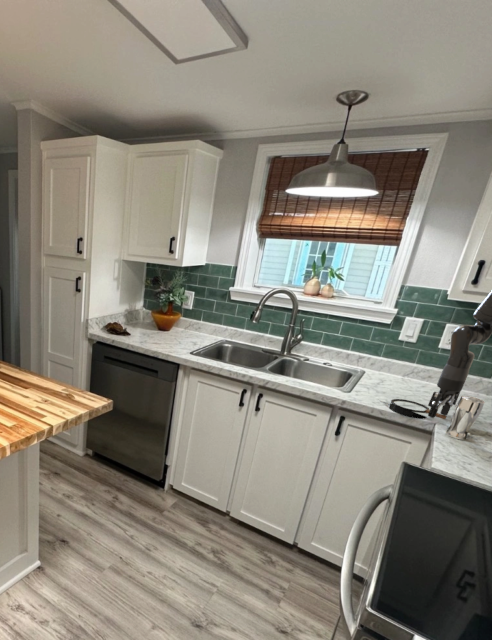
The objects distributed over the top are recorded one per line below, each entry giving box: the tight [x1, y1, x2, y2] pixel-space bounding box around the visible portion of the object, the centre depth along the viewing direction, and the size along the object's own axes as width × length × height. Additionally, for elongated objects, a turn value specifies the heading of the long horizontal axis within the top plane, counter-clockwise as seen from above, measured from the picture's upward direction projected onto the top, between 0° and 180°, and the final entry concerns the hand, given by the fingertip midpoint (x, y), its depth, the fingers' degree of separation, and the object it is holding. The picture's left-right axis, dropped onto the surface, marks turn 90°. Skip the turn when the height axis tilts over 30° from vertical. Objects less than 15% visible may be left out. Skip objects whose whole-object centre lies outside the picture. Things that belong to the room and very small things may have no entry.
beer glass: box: [445, 395, 486, 441], centre depth 149 cm, size 7×7×15 cm
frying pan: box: [388, 398, 448, 420], centre depth 167 cm, size 20×13×4 cm, turn 24°
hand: (437, 415), depth 161 cm, fingers open, 8 cm apart
